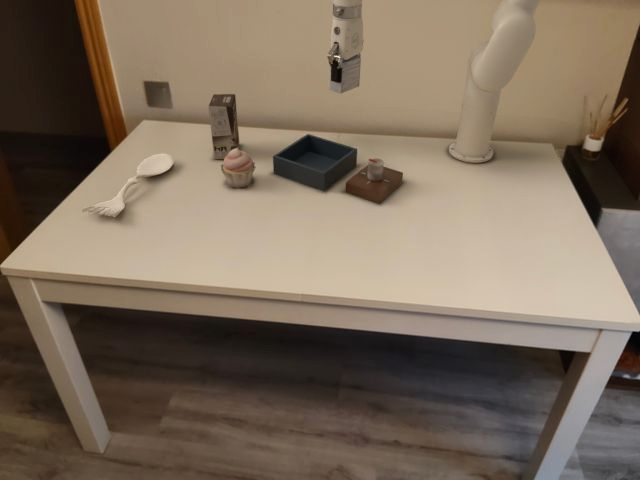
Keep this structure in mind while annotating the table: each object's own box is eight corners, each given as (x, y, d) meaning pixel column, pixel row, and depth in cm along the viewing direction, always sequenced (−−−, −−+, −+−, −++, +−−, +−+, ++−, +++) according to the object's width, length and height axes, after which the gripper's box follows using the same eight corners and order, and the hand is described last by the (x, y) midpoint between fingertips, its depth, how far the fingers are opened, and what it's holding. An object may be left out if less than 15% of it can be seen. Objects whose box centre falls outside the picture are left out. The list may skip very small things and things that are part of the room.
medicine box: (348, 82, 157) (349, 52, 152) (359, 87, 155) (361, 56, 149) (329, 90, 153) (329, 59, 148) (340, 94, 150) (341, 63, 145)
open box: (307, 150, 161) (307, 133, 158) (356, 166, 154) (357, 148, 150) (273, 173, 150) (272, 156, 146) (324, 191, 142) (324, 173, 139)
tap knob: (385, 176, 143) (386, 159, 140) (378, 182, 140) (379, 166, 137) (371, 171, 145) (372, 155, 142) (364, 178, 142) (365, 161, 139)
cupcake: (262, 186, 144) (260, 152, 138) (228, 194, 141) (224, 159, 135) (250, 170, 151) (247, 137, 145) (217, 177, 148) (213, 144, 142)
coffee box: (236, 160, 156) (231, 106, 146) (213, 159, 156) (207, 106, 146) (240, 145, 163) (236, 93, 153) (219, 145, 163) (213, 93, 154)
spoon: (83, 220, 131) (80, 208, 129) (151, 159, 156) (149, 148, 154) (116, 226, 129) (113, 214, 127) (180, 163, 154) (178, 152, 152)
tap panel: (369, 171, 151) (370, 161, 149) (402, 182, 146) (403, 172, 145) (345, 192, 142) (345, 181, 140) (378, 204, 138) (379, 193, 136)
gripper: (342, 20, 134) (340, 89, 144) (376, 6, 146) (372, 70, 156) (316, 16, 137) (316, 83, 147) (351, 2, 149) (349, 65, 159)
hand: (345, 76), depth 152 cm, fingers closed on medicine box, 8 cm apart
